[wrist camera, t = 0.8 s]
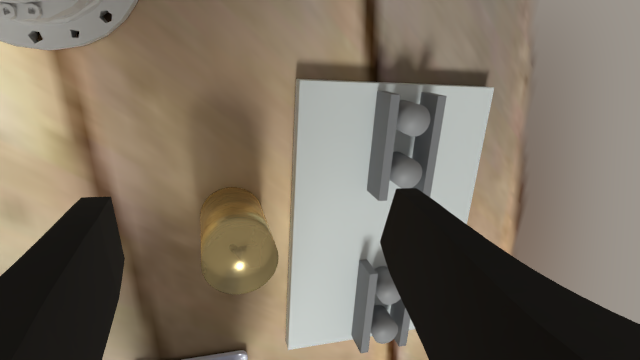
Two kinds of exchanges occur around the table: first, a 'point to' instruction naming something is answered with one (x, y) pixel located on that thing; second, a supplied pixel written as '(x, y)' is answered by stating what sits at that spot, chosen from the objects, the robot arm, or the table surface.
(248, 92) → the table surface
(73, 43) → the mechanical component
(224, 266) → the pin
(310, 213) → the chain base
